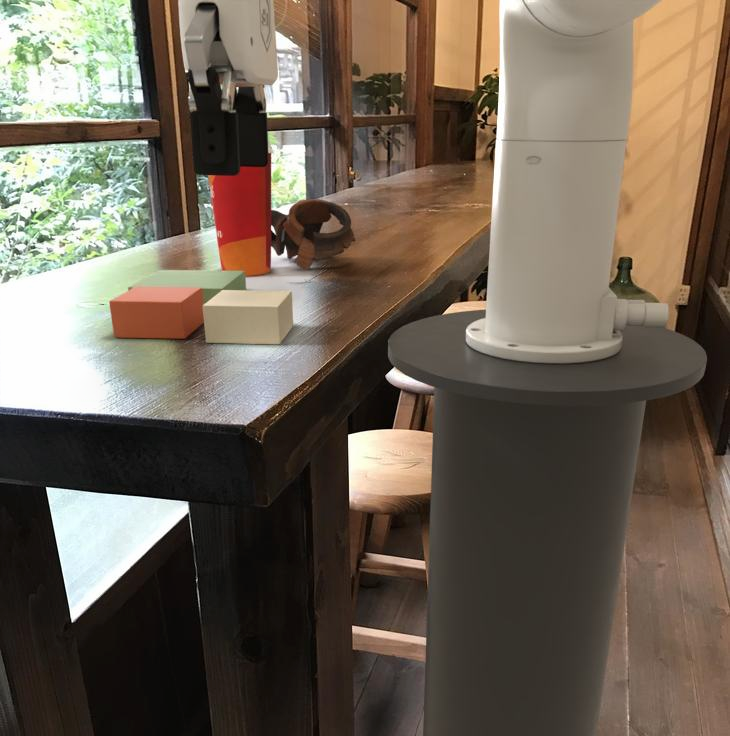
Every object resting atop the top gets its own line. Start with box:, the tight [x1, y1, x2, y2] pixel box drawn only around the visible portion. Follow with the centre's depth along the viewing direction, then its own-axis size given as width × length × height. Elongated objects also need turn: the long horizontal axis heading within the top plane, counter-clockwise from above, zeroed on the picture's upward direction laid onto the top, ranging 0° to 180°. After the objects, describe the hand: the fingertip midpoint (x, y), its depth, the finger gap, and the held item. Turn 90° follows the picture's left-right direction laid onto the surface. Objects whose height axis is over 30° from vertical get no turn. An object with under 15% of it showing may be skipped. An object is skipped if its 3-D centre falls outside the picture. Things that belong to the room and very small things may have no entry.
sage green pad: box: [127, 269, 247, 304], centre depth 79 cm, size 9×9×2 cm
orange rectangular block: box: [108, 286, 204, 340], centre depth 68 cm, size 6×6×3 cm
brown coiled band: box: [271, 198, 356, 271], centre depth 96 cm, size 12×10×8 cm
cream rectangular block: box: [203, 289, 294, 345], centre depth 66 cm, size 6×6×3 cm
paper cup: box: [207, 138, 275, 277], centre depth 90 cm, size 8×8×14 cm
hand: (234, 170), depth 61 cm, fingers open, 9 cm apart
